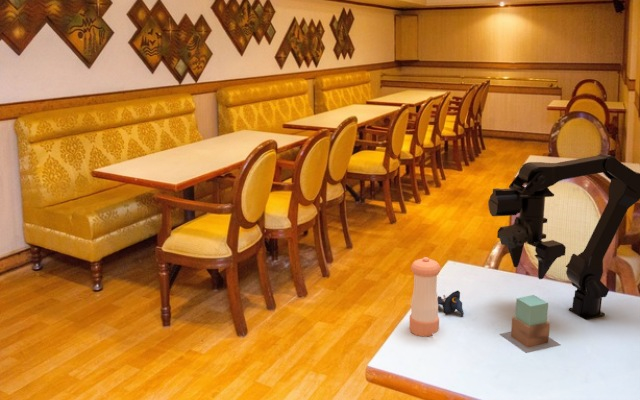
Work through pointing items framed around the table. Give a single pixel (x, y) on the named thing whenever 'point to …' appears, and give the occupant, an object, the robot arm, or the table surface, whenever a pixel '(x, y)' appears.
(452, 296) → the toy
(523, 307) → the green cube
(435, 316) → the pepper shaker
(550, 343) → the mat
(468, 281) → the table surface
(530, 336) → the walnut block
